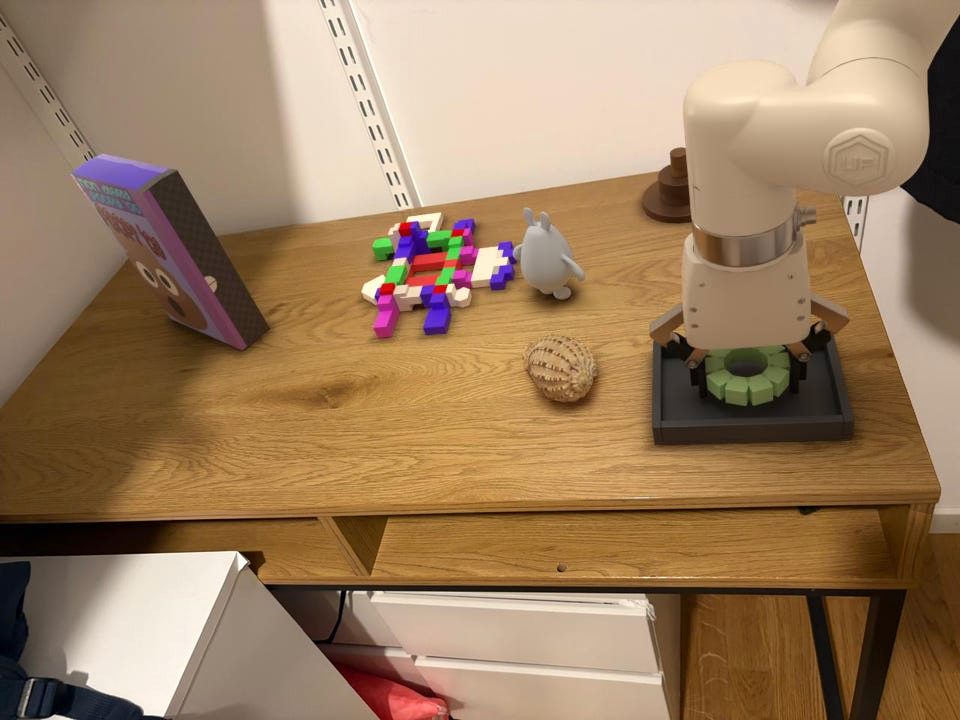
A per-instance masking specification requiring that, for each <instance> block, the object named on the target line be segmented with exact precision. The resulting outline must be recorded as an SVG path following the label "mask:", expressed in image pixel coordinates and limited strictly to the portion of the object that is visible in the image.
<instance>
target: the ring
mask: <svg viewBox="0 0 960 720" xmlns="http://www.w3.org/2000/svg"><path fill="white" fill-rule="evenodd" d="M743 360H747V361H753V362H759V363H760V364H761V365H763V366H764V367H765V368H766V370H765V371H764V372H763V373H762V374H760V375H756V376H753V377H749V378H746V377H739V376H733V375H732V374H731V373H729V372H728V371H727V370H726V369H727V368H728V367H729V366H730V365H731V364H733V363H736V362H740V361H743ZM705 367H706V381H707V389H708V390H709V391H710V392H712V393H713V394H714V395H715V396H716V397H717V398H719V399H720V400H721V399H723V398H724V397H725V399H726V403H731V404H737V405H743V406H747V403H748V400H750V401H751V403H752V405H753V406H754V405H758V404H762V403H765V402H769V401H772V400H773V395H774V396H777V397H779V396H780V395H781V393H782V392H783V391H784V390H785V389H786V388H787V387H788V385H789V380H790V363H789V357H788V353H786V348H785V347H783V346H782V345H774V346H760V347H746V348H730V349H710V350H709V352H708V353H707V354H706V356H705Z"/></svg>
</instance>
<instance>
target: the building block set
mask: <svg viewBox="0 0 960 720" xmlns="http://www.w3.org/2000/svg"><path fill="white" fill-rule="evenodd" d="M443 221H444V216H443V214H442V212H435V213H426V214H420V215H419V214H418V215H411V216H407V218H406V221H404V222H398V223H395V224H394V226H393V227H390V229H389V231H388V233H387V237H383V238H378V239H375V240H374V242H373V244H372V247H371V248H372V251H373V254H374V256H375V259H376V261H378V262H379V261H384V260H388V258H389V256H390V254H393V253H394V256H393V258H392V259H393V261H392V265H391V266H389V268H388V271H387V273H386V276H385V275H384V274H381V275H378V276H377V277H376V278H374V279H372V280H369V281H367V282H365V283H364V284H363V287H362V289H361V291H360V292H361V295H362V297H363V299H364V300H366V301H368V302H370V303H371V304H373V305H375V306H377V308H378V314H377V317H376V320H375V322H374V325H373V327H372V329H373V331H374V332H375V335H376V337H377V338H378V339H383V338H384V339H385V338H392V336H393V331H394V329H395V327H396V325H397V321H398V319H399V315H400V313H401V312H409V311H411V312H412V311H413V308H414V307H415V305H419V304H423V306H424V309H428V310H427V315H426V317H425V321H424V324H423V326H422V329H423V332H424V334H425V336H428V335H430V336H431V335H442V334H447V333H448V329H449V326H450V322H451V319H452V313H451V310H450V309H451V308H452V307H458V308H461V309H463V308H466V307H468V306H470V305H471V301H472V298H473V295H472V292H471V289H476V288H487V287H490V289H491V291H497V290H505V289H506V284H507V281H513V280H514V278H515V277H514V275H515V273H516V270H515V267H514V264H517V262H518V260H516V259H515V258H514V256H513V250H514V246H513V241H511V240H509V241H502V242H499V243H498V246H489V247H481V248H480V247H479V248H475V247H474V245H475V239H474V231H475V228H476V223H475V219H474V218H466V219H465V218H464V219H459V220H457V222H455V223H454V225H453V228H452V230H447V229H446V230H441V228H442V225H443ZM422 229H426V230H422ZM440 247H441V249H442V250H441V251H442V252H436V253H433V250H434V248H440ZM467 265H474V267H473V271H472V272H468V269H462V268H463V266H467ZM435 270H441V272H440V273H439V274H431V275H422V276H414V273H417V272H425V271H435Z"/></svg>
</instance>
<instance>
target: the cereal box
mask: <svg viewBox="0 0 960 720" xmlns="http://www.w3.org/2000/svg"><path fill="white" fill-rule="evenodd" d="M69 175H70V176H71V178H72V179H73V180H74V182H75V183H76V185H77V186H78V188H79V190H81V192H82V193H83V195H84V197H85V199H86V200H87V201H88V202H89V204H90V205H91V207H92V208H93V209H94V211H95V212H96V213H97V215H98V217H99V218H100V219H101V221H102V223H104V225H105V226H106V229H108V231H109V232H110V234H111V236H113V238H114V240H115V241H116V242H117V244H118V245H119V247H120V248H121V250H122V251H123V252H124V254H125V255H126V257H127V258H128V260H129V261H130V263H131V264H132V265H133V267H134V269H135V270H136V271H137V273H138V274H139V275H140V277H141V278H142V280H143V281H144V282H145V284H146V286H147V287H148V288H149V290H150V291H151V292H152V294H153V295H154V297H155V298H156V300H157V301H158V302H159V304H160V305H161V307H162V309H163V310H164V311H165V312H166V314H167V316H168V317H169V319H170V320H171V321H173V322H175V323H177V324H180V325H182V326H185V327H187V328H189V329H191V330H193V331H195V332H198V333H200V334H203V335H205V336H207V337H210V338H212V339H214V340H216V341H219V342H221V343H223V344H225V345H228V346H230V347H233V348H235V349H237V350H239V351H240V352H244V351H246V350H247V349H248V348H249V347H251V346H252V345H253V344H254V343H255V342H256V341H257V340H259V339H260V338H261V337H262V336H263V335H264V334H265V333H266V332H268V331H269V330H270V329H271V328H270V326H269V324H268V322H267V321H266V319H265V317H264V316H263V314H262V312H261V311H260V309H259V308H258V306H257V303H256V302H255V300H254V299H253V297H252V295H251V293H250V291H249V290H248V288H247V286H246V285H245V283H244V282H243V280H242V278H241V276H240V275H239V273H238V271H237V268H235V266H234V264H233V263H232V260H231V259H230V258H229V256H228V254H227V252H226V250H225V249H224V247H223V246H222V244H221V242H220V241H219V239H218V237H217V235H216V233H215V232H214V230H213V229H212V227H211V225H210V223H209V221H208V220H207V218H206V216H205V214H204V213H203V211H202V209H201V207H200V206H199V204H198V202H197V201H196V199H195V198H194V195H193V194H192V193H191V190H190V189H189V187H188V186H187V183H186V182H185V181H184V179H183V177H182V175H181V173H180V172H179V170H178V169H174V168H170V167H165V166H160V165H156V164H152V163H147V162H143V161H138V160H134V159H129V158H125V157H119V156H116V155H112V154H106V153H100V154H99V155H97V156H95V157H94V156H93V157H92V158H90V159H89V160H87V161H85V162H84V163H82V164H81V165H79V166H78V167H77V168H75V169H74V170H73V171H71V172H69Z"/></svg>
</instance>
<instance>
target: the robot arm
mask: <svg viewBox="0 0 960 720" xmlns="http://www.w3.org/2000/svg"><path fill="white" fill-rule="evenodd" d="M959 16H960V0H838V2H837V4H836V6H835V8H834V10H833V12H832V14H831V16H830V18H829V21H828V22H827V25H826V27H825V29H824V31H823V33H822V36H821V37H820V40H819V42H818V44H817V46H816V49H815V51H814V54H813V56H812V59H811V61H810V65H809V68H808V72H807V75H806V80H805V84H804V86H803V85H800V84H799V83H798V82H797V79H796V78H795V75H793V73H792V72H791V71H790V70H789V68H787V67H786V66H784V65H783V64H780V63H777V62H776V61H772V60H766V59H755V58H754V59H742V60H741V59H740V60H735V61H730V62H726V63H722V64H719V65H717V66H714V67H712V68H711V67H710V68H709V69H707V70H705V71H704V72H702V73H700V74H699V75H698V76H696V78H695V79H694V80H693V81H692V82H691V83H690V84H689V86H688V87H687V89H686V91H685V94H684V97H683V101H682V119H683V131H684V132H683V133H684V145H685V148H686V158H687V170H688V183H689V195H690V207H691V219H692V221H691V227H692V228H691V230H692V232H691V233H690V234H688V236H686V237H685V239H684V244H683V248H682V257H681V258H682V259H681V273H680V275H681V301H680V302H678V303H677V304H676V305H674V306H673V307H671V308H670V309H669V310H667V311H666V312H664V313H663V314H662V315H660V316H659V317H658V318H657V319H655V320H654V321H652V322H651V323H650V324H649V338H651V339H652V341H653V340H655V341H656V342H657V343H659V344H660V345H662V346H664V347H666V348H667V351H668V352H669V353H671V354H672V355H674V356H676V357H677V358H679V359H681V360H683V361H684V362H685V365H686V367H687V368H689V369H690V379H691V386H699V394H700V399H703V398H705V397H708V394H707V381H706V367H705V356H706V354H707V353H708V352H709V350H710V349H730V348H746V347H760V346H774V345H786V346H787V353H788V357H789V363H790V380H789V390H790V393H792V394H799V380H806V377H807V361H809V360H811V358H812V353H814V352H815V351H817V350H818V349H820V348H821V347H822V346H824V345H825V344H827V343H828V342H829V341H830V340H831V336H833V335H834V336H835V335H836V334H838V333H839V332H840V331H841V330H842V329H844V328H845V327H846V326H847V325H848V324H849V323H850V321H851V320H850V315H849V311H848V309H847V308H846V307H845V306H843V305H840V304H838V303H836V302H835V301H832V300H830V299H829V298H827V297H825V296H822V295H820V294H818V293H816V292H814V291H812V290H811V276H810V266H809V259H808V248H807V242H806V238H805V234H804V231H803V228H805V227H806V226H807V225H816V224H817V208H816V206H815V205H812V206H805V205H800V203H799V202H798V201H797V189H798V190H803V191H809V192H814V193H819V194H820V193H821V194H825V195H831V196H838V197H849V198H850V197H851V198H856V197H857V198H860V197H861V198H862V197H871V196H876V195H881V194H884V193H888V192H890V191H892V190H894V189H896V188H898V187H900V186H901V185H903V184H904V183H905V182H907V181H908V180H909V179H911V178H912V177H913V176H914V175H915V173H916V172H917V171H918V169H919V168H920V166H921V165H922V163H923V161H924V159H925V157H926V154H927V151H928V148H929V140H930V111H929V94H928V70H929V69H930V66H931V63H932V62H933V60H934V58H935V56H936V53H937V52H938V51H939V49H940V47H941V46H942V44H943V42H944V41H945V39H946V37H947V36H948V34H949V32H950V31H951V29H952V28H953V25H954V24H955V22H956V21H957V20H958V18H959ZM812 315H813V316H815V317H817V318H818V319H821V320H819V321H816V322H814V324H812ZM811 324H812V325H811ZM682 325H683V328H684V329H683V330H684V335H685V336H683V335H682V334H680V333H678V332H677V331H675V330H677V329H678V328H679V327H680V326H682Z"/></svg>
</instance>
